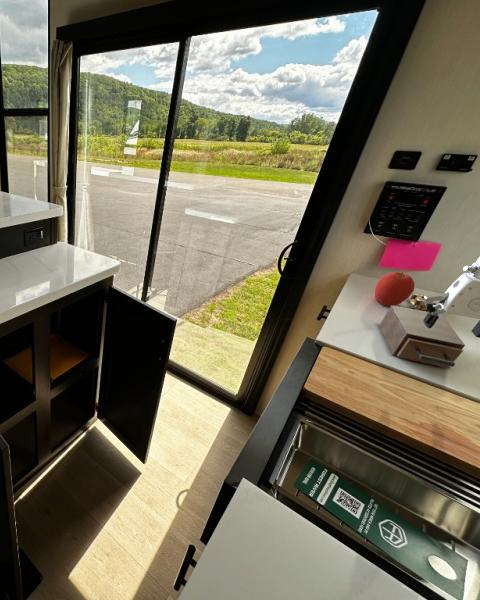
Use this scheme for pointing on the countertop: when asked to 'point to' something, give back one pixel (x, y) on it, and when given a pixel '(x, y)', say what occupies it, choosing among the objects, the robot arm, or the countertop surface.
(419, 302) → the bundle
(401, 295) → the apple
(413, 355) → the drawer
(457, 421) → the countertop surface
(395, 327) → the cabinet
